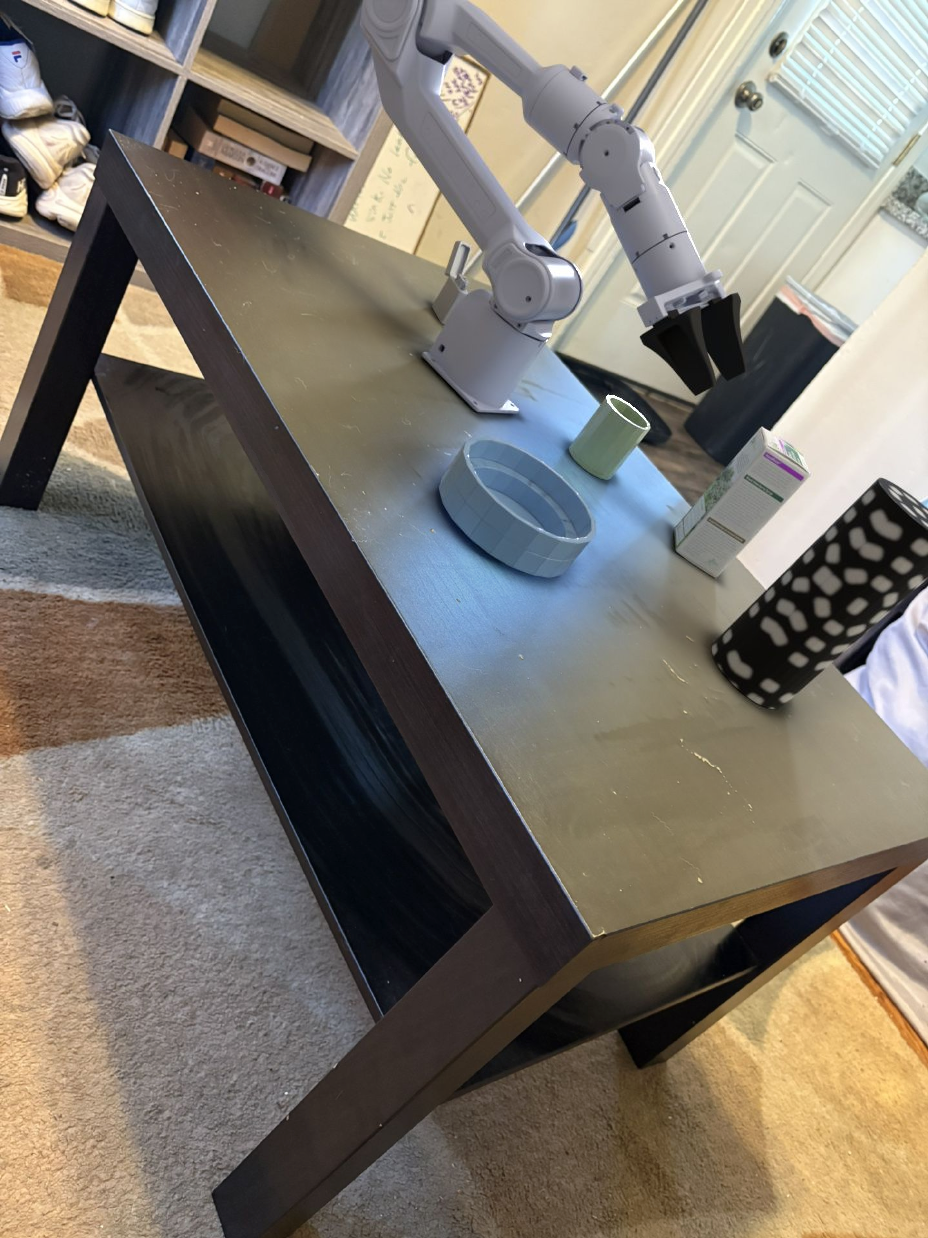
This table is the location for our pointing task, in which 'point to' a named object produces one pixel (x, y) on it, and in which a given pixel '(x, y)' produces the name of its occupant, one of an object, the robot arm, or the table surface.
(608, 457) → the cup
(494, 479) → the bowl
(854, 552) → the spotted tube
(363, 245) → the table surface
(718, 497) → the syrup box
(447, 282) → the lighter
